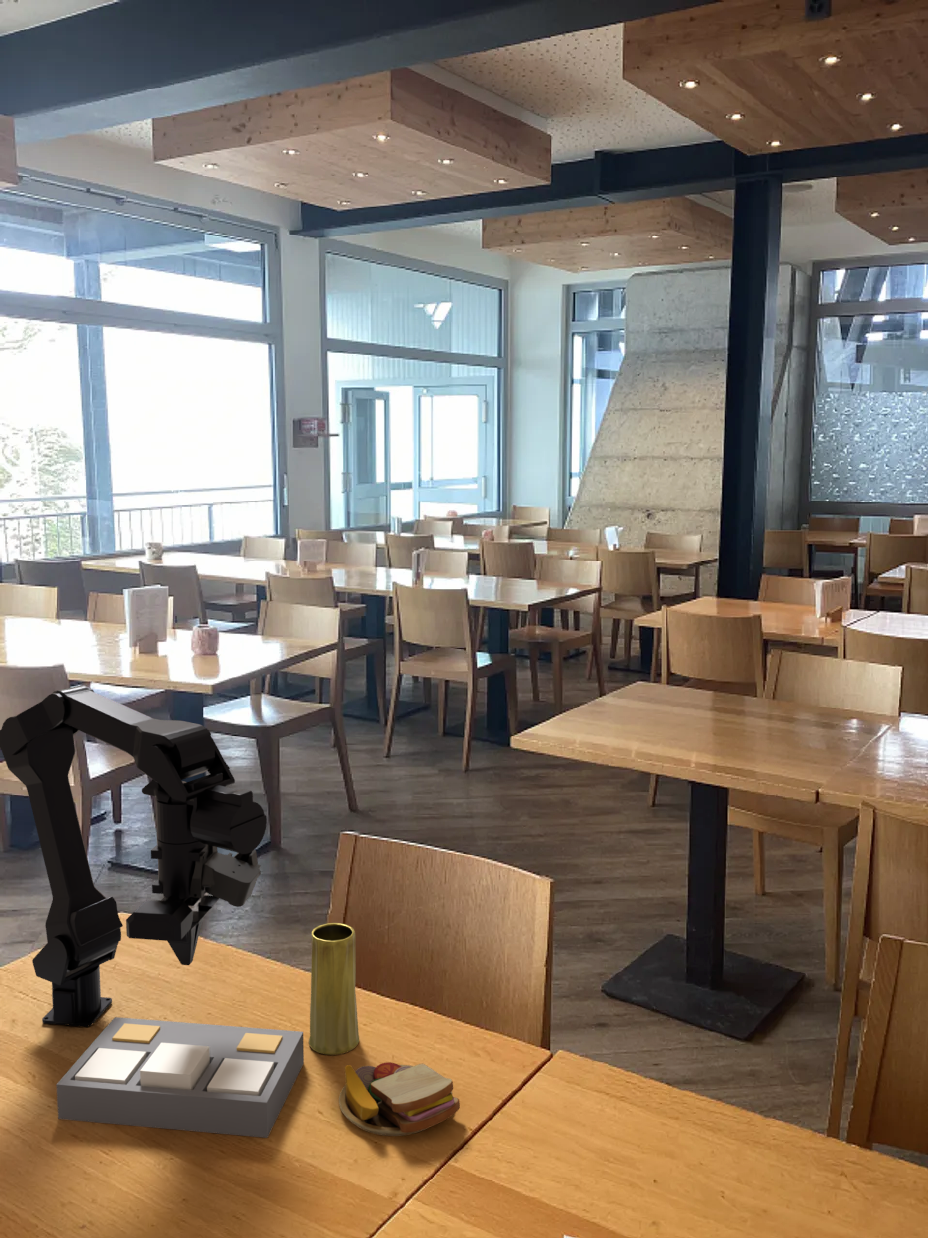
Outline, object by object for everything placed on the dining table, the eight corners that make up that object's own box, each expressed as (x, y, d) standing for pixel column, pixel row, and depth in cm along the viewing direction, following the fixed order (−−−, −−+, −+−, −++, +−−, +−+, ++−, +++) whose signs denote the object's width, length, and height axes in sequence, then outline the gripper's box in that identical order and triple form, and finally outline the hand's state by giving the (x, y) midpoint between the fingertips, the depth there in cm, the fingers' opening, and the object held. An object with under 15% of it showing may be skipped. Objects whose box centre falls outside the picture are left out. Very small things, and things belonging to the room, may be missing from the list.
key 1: (99, 1068, 121) (98, 1048, 120) (146, 1072, 120) (146, 1051, 119) (76, 1097, 115) (75, 1076, 115) (125, 1101, 114) (124, 1080, 114)
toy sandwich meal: (424, 1064, 126) (424, 1027, 125) (475, 1128, 114) (476, 1087, 113) (323, 1090, 120) (323, 1051, 120) (366, 1161, 108) (366, 1118, 108)
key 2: (225, 1079, 119) (225, 1058, 118) (274, 1083, 118) (273, 1062, 118) (207, 1109, 113) (206, 1087, 113) (258, 1113, 113) (257, 1091, 112)
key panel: (58, 1119, 114) (56, 1082, 113) (116, 1048, 128) (114, 1014, 127) (267, 1138, 111) (266, 1100, 111) (303, 1063, 125) (303, 1029, 124)
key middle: (161, 1063, 119) (161, 1042, 119) (209, 1067, 119) (209, 1046, 118) (140, 1092, 114) (140, 1071, 114) (191, 1096, 113) (190, 1075, 113)
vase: (350, 1059, 126) (349, 945, 124) (301, 1052, 127) (299, 940, 125) (365, 1032, 132) (364, 923, 130) (318, 1026, 133) (317, 918, 131)
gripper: (222, 870, 111) (226, 1009, 114) (275, 812, 130) (277, 933, 132) (121, 864, 113) (126, 1002, 115) (187, 808, 131) (191, 927, 133)
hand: (186, 963), depth 124 cm, fingers closed
